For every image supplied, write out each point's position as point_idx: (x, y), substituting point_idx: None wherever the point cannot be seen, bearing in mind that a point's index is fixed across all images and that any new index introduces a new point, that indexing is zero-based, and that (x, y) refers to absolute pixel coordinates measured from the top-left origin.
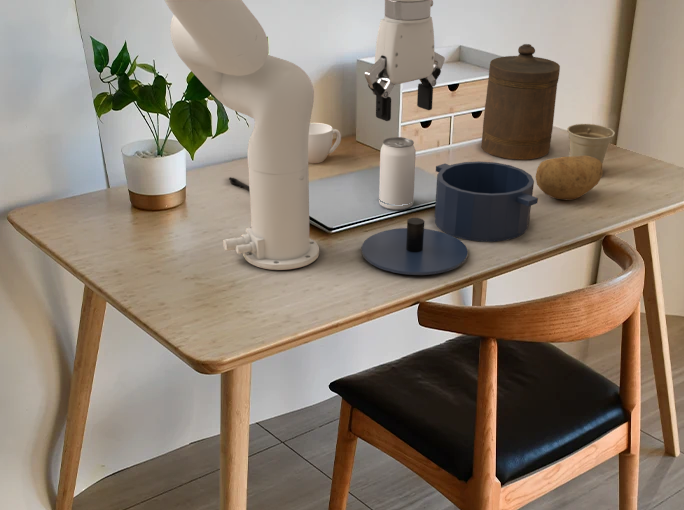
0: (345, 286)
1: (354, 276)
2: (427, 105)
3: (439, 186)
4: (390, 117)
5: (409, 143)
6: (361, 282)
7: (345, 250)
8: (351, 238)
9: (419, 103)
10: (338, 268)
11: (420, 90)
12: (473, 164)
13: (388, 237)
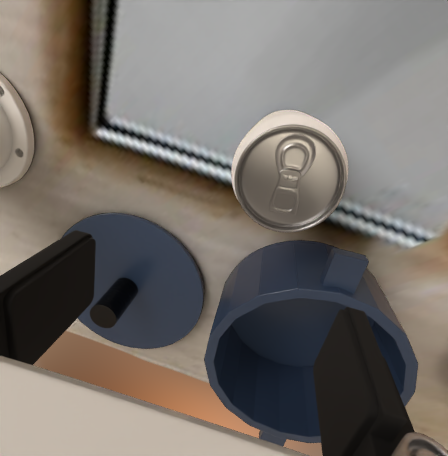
0: (3, 258)
1: (28, 252)
2: (317, 376)
3: (227, 307)
4: (86, 306)
5: (312, 209)
6: None
7: (67, 196)
8: (104, 177)
9: (339, 330)
10: (24, 223)
11: (350, 397)
12: (382, 327)
13: (128, 239)
